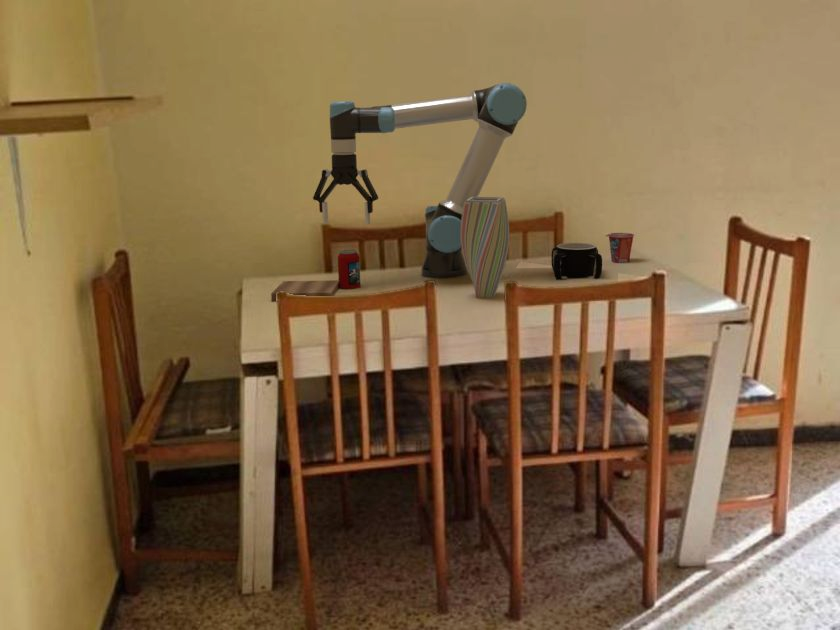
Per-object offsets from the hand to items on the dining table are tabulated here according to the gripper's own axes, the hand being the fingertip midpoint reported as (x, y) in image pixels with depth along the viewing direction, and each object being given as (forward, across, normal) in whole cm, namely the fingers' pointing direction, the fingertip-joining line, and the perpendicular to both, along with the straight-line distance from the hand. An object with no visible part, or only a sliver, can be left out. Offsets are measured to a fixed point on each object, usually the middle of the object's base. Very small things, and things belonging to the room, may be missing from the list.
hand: (346, 223), depth 275 cm
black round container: (+21, -69, -17) cm, 74 cm away
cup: (+20, -82, -40) cm, 94 cm away
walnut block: (+21, +11, +9) cm, 25 cm away
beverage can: (+21, 0, 0) cm, 21 cm away
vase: (+21, -45, +13) cm, 51 cm away
